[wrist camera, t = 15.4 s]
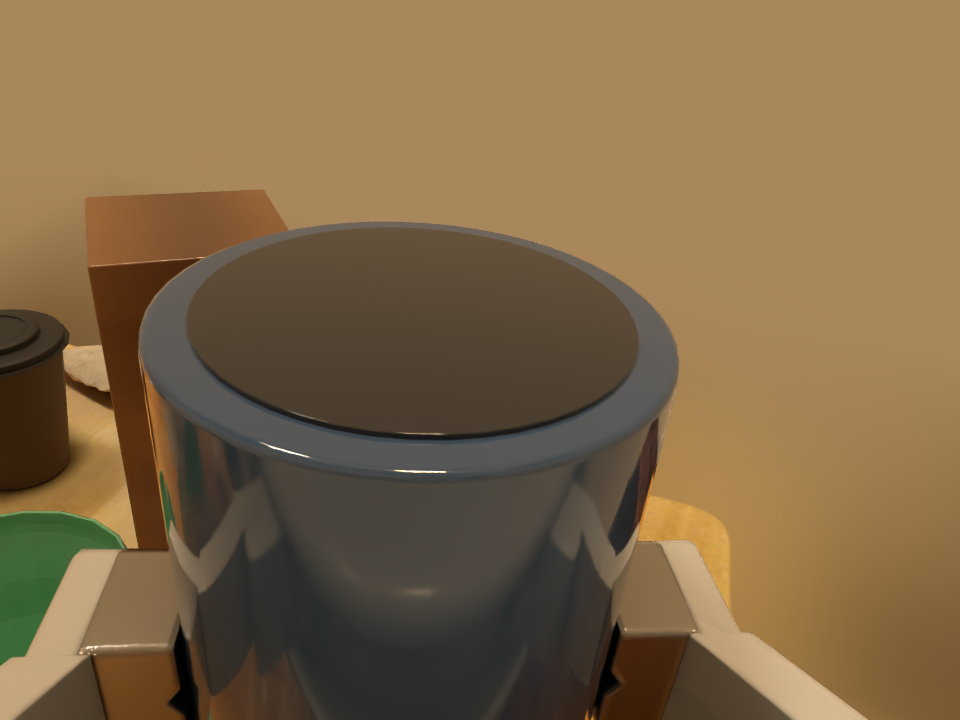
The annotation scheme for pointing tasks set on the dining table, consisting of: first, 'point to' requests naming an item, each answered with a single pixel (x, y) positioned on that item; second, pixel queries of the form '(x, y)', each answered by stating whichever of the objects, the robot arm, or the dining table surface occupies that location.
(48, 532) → the mug
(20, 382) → the coffee cup
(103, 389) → the decorative stone
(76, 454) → the dining table surface
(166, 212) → the stand
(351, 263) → the tumbler
